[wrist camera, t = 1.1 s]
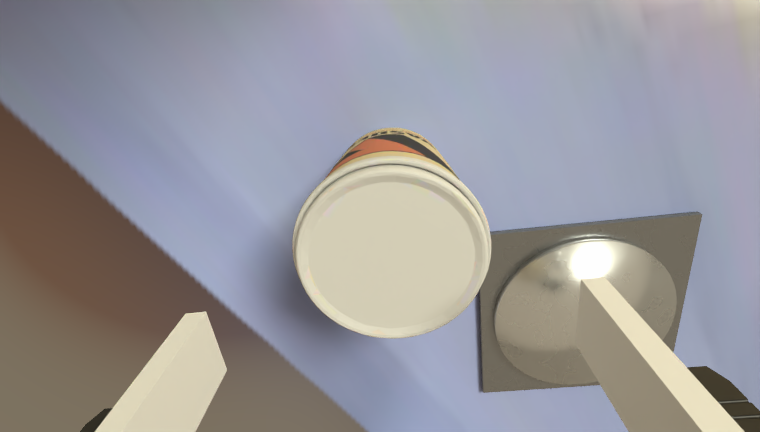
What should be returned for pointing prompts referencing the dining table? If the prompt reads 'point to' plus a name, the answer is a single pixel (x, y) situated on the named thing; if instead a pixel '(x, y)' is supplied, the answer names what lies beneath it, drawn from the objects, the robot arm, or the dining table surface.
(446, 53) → the dining table surface
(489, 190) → the dining table surface
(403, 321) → the coffee cup
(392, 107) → the dining table surface
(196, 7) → the dining table surface
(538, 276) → the flange plate
